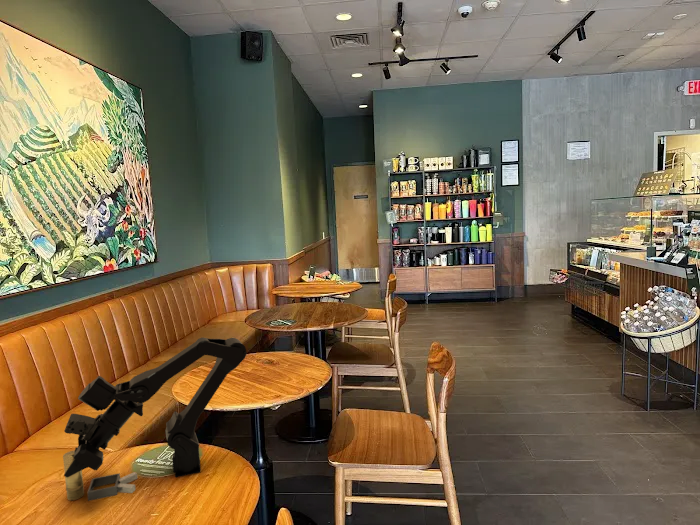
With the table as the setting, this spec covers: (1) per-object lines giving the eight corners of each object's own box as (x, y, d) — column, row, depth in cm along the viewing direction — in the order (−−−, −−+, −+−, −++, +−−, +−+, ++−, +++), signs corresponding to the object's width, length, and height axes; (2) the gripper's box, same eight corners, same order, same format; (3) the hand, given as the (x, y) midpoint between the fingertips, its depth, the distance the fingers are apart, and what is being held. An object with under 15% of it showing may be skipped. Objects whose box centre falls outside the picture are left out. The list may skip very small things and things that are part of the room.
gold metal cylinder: (85, 490, 116) (81, 448, 115) (82, 498, 112) (78, 456, 111) (69, 493, 115) (64, 451, 113) (65, 501, 111) (61, 459, 110)
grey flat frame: (137, 476, 122) (137, 468, 122) (135, 492, 115) (134, 484, 114) (93, 485, 118) (92, 477, 118) (87, 502, 111) (86, 494, 111)
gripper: (88, 390, 121) (43, 439, 118) (81, 417, 104) (28, 475, 101) (124, 412, 125) (81, 460, 122) (122, 441, 108) (72, 498, 105)
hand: (66, 472), depth 112 cm, fingers closed on gold metal cylinder, 4 cm apart
